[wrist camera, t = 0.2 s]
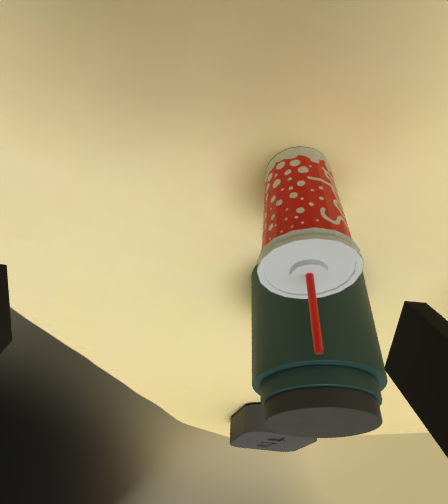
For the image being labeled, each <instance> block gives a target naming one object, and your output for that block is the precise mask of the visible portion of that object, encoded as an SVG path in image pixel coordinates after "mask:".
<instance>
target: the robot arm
mask: <svg viewBox="0 0 448 504" xmlns="http://www.w3.org/2000/svg"><path fill="white" fill-rule="evenodd" d="M11 341H12V331H11V318H10V304H9V291H8V277H7V265H3V264H0V354H1V353H2V351H3V350H4V349H5V348H6V347H7V346H8V345H9V343H10V342H11ZM384 369H385V371H386V372H387V373H388V375H389V376H390V378H391V379H392V380H393V382H394V383H395V385H396V386H397V387H398V389H399V390H400V392H401V393H402V394H403V396H404V397H405V399H406V400H407V401H408V403H409V404H410V406H411V407H412V408H413V410H414V411H415V413H416V414H417V415H418V417H419V418H420V420H421V421H422V422H423V424H424V425H425V427H426V428H427V429H428V431H429V432H430V434H431V435H432V436H433V438H434V439H435V441H436V442H437V443H438V445H439V446H440V447H441V449H442V450H443V452H444V453H445V455H446V456H447V457H448V321H447V320H446V319H445V318H443V317H442V316H441V315H440V314H439V313H437V312H436V311H435V310H434V309H433V308H431V307H430V306H429V305H428V304H427V303H420V302H409V301H405V302H404V305H403V309H402V312H401V315H400V318H399V322H398V325H397V328H396V332H395V335H394V338H393V342H392V345H391V348H390V351H389V355H388V358H387V361H386V365H385V368H384Z"/></svg>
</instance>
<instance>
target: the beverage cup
mask: <svg viewBox="0 0 448 504" xmlns="http://www.w3.org/2000/svg"><path fill="white" fill-rule="evenodd" d="M257 262H258V267H257V273H258V276H259V279H260V283H261V284H263V285H264V286H265V287H266V288H267V289H268V290H269V291H271V292H273V293H276V294H279V295H281V296H284V297H289V298H298V299H308V302H309V311H310V319H311V328H312V337H313V345H314V354H316V355H321V354H323V353H324V351H323V343H322V336H321V328H320V320H319V313H318V305H317V298H320V297H325V296H328V295H331V294H334V293H338V292H340V291H342V290H343V289H345V288H347V287H348V286H350V285H352V284H353V283H354V282H355V281H356V279H357V278H358V277H359V276H360V274H361V273H362V265H363V259H362V256H361V254H360V249H359V248H358V246H357V245H356V243H355V242H354V241H353V239H352V238H351V235H350V231H349V228H348V225H347V222H346V219H345V215H344V212H343V209H342V206H341V202H340V199H339V196H338V193H337V190H336V186H335V183H334V180H333V177H332V173H331V170H330V167H329V164H328V162H327V160H326V159H325V157H324V155H323V154H321V153H320V152H318V151H316V150H315V149H313V148H306V147H295V148H290V149H286V150H284V151H283V152H281V153H279V154H277V155H276V156H275V157H274V158H273V159H272V160H271V161H270V163H269V164H268V167H267V170H266V176H265V197H264V218H263V238H262V250H261V253H260V255H259V258H258V261H257Z"/></svg>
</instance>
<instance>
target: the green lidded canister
mask: <svg viewBox="0 0 448 504" xmlns="http://www.w3.org/2000/svg"><path fill="white" fill-rule="evenodd" d="M257 267H258V264H257V266H256V267H255V268H254V270H253V273H252V387H253V389H254V390H255V392H256V393H258V394H259V395H261V406H262V407H263V409H265V425H266V426H267V427H268V428H269V429H271V430H272V431H275V432H278V433H281V434H285V435H291V436H297V437H309V438H333V437H346V436H353V435H358V434H363V433H367V432H370V431H372V430H375V429H377V428H378V427H380V426H381V424H382V417H381V412H380V407H379V406H380V405H381V404H382V397H381V392H380V391H382V390H383V389H384V388H385V387H386V385H387V376H386V372H385V369H384V363H383V359H382V354H381V350H380V346H379V341H378V337H377V333H376V328H375V324H374V320H373V315H372V311H371V306H370V302H369V298H368V293H367V289H366V285H365V280H364V276H363V272H362V273H361V274H360V276H359V277H358V278H357V279H356V281H355V282H354V283H353V284H352V285H350V286H348V287H347V288H345V289H343V290H342V291H340V292H338V293H334V294H331V295H328V296H325V297H320V298H317V305H318V313H319V320H320V328H321V336H322V343H323V351H324V353H323V354H321V355H316V354H314V345H313V337H312V328H311V319H310V311H309V302H308V299H298V298H289V297H284V296H281V295H279V294H276V293H273V292H271V291H269V290H268V289H267V288H266V287H265V286H264V285H263V284H261V283H260V279H259V276H258V273H257Z"/></svg>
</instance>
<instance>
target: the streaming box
mask: <svg viewBox="0 0 448 504" xmlns="http://www.w3.org/2000/svg"><path fill="white" fill-rule="evenodd" d="M316 441H317V438H309V437H297V436H291V435H285V434H281V433H278V432H275V431H272V430H271V429H269V428H268V427H267V426H266V425H265V409H263V407H262V406H261V404H252V405H247V406H245V407H243V408H242V409H241V410H240V411H239V412H238V413H236V414H235V415H234V416H233V417H232V418H231V424H230V445H232V446H235V447H241V448H252V449H261V450H270V451H281V452H289V451H296V450H298V449H300V448H303V447H305V446H307V445H309V444H311V443H314V442H316Z"/></svg>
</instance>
